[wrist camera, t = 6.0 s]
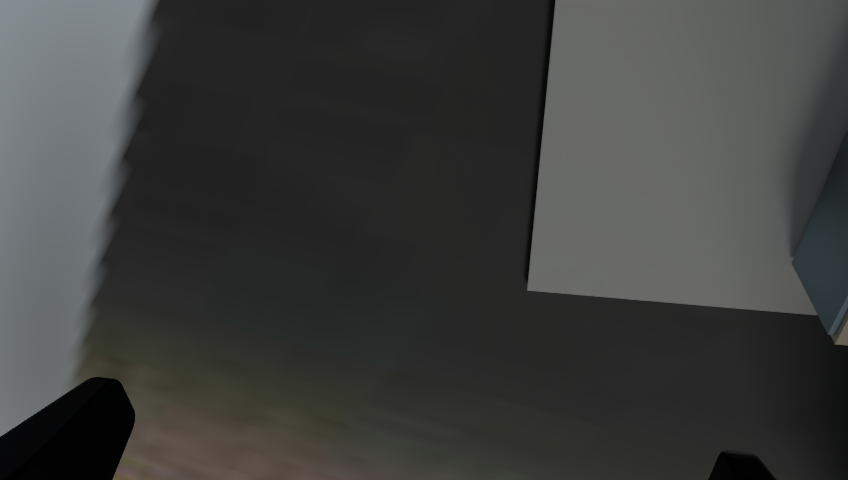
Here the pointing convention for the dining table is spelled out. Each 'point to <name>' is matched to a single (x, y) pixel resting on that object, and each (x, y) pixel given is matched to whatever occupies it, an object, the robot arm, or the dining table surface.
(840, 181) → the beech slab
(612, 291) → the white flat tray
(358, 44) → the dining table surface
